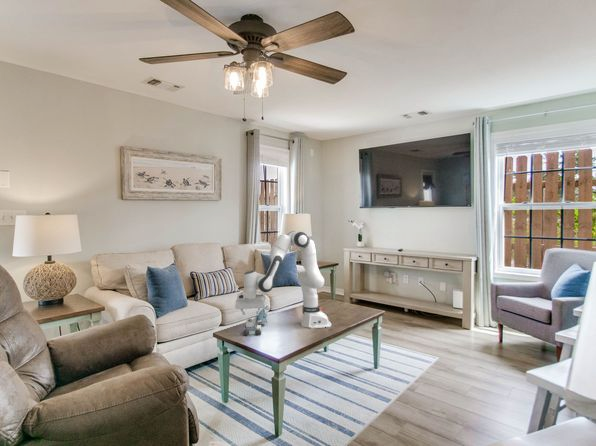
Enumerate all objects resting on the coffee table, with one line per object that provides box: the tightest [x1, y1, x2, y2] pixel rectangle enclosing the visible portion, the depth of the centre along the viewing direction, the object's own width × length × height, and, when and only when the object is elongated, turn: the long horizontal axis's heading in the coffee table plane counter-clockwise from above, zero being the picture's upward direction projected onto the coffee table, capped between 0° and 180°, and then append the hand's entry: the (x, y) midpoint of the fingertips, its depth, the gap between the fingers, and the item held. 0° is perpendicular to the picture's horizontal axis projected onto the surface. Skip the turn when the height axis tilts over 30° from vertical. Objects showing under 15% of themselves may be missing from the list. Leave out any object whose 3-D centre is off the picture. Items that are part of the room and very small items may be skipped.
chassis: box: [242, 324, 263, 337], centre depth 230 cm, size 12×11×4 cm
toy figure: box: [252, 305, 270, 327], centre depth 246 cm, size 17×10×15 cm, turn 168°
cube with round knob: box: [245, 318, 255, 328], centre depth 230 cm, size 5×5×7 cm
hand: (250, 314), depth 230 cm, fingers open, 8 cm apart
